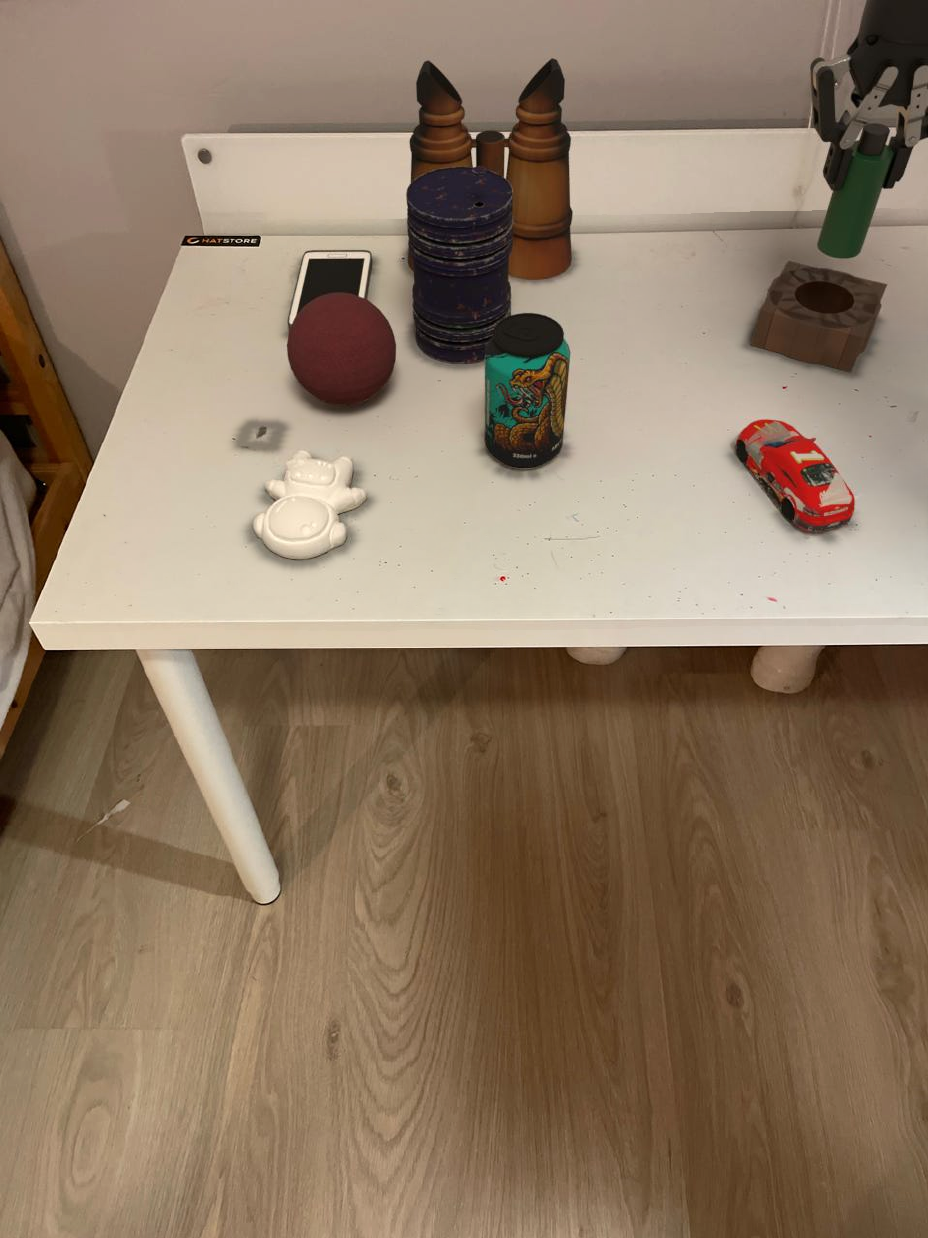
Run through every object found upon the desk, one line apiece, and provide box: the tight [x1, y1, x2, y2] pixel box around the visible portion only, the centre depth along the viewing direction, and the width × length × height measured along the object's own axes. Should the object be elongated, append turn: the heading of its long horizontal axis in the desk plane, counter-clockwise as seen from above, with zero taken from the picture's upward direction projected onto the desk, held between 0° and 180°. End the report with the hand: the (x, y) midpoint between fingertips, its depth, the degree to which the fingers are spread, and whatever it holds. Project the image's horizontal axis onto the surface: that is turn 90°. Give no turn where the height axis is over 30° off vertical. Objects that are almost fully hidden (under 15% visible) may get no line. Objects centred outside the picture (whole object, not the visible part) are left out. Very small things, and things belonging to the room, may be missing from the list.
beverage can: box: [484, 312, 571, 470], centre depth 80 cm, size 7×7×12 cm
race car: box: [735, 418, 856, 533], centre depth 79 cm, size 13×5×4 cm, turn 17°
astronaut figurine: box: [252, 449, 367, 560], centre depth 79 cm, size 9×12×3 cm
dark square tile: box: [255, 425, 267, 439], centre depth 86 cm, size 3×3×1 cm
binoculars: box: [406, 57, 574, 280], centre depth 96 cm, size 18×8×20 cm, turn 90°
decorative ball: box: [286, 292, 397, 406], centre depth 86 cm, size 10×10×10 cm
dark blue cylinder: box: [405, 166, 513, 365], centre depth 88 cm, size 10×10×18 cm
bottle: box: [816, 122, 894, 260], centre depth 83 cm, size 4×4×11 cm
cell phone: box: [287, 249, 373, 331], centre depth 100 cm, size 8×15×1 cm, turn 179°
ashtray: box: [750, 260, 888, 373], centre depth 93 cm, size 11×11×4 cm
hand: (859, 184), depth 83 cm, fingers closed on bottle, 4 cm apart
